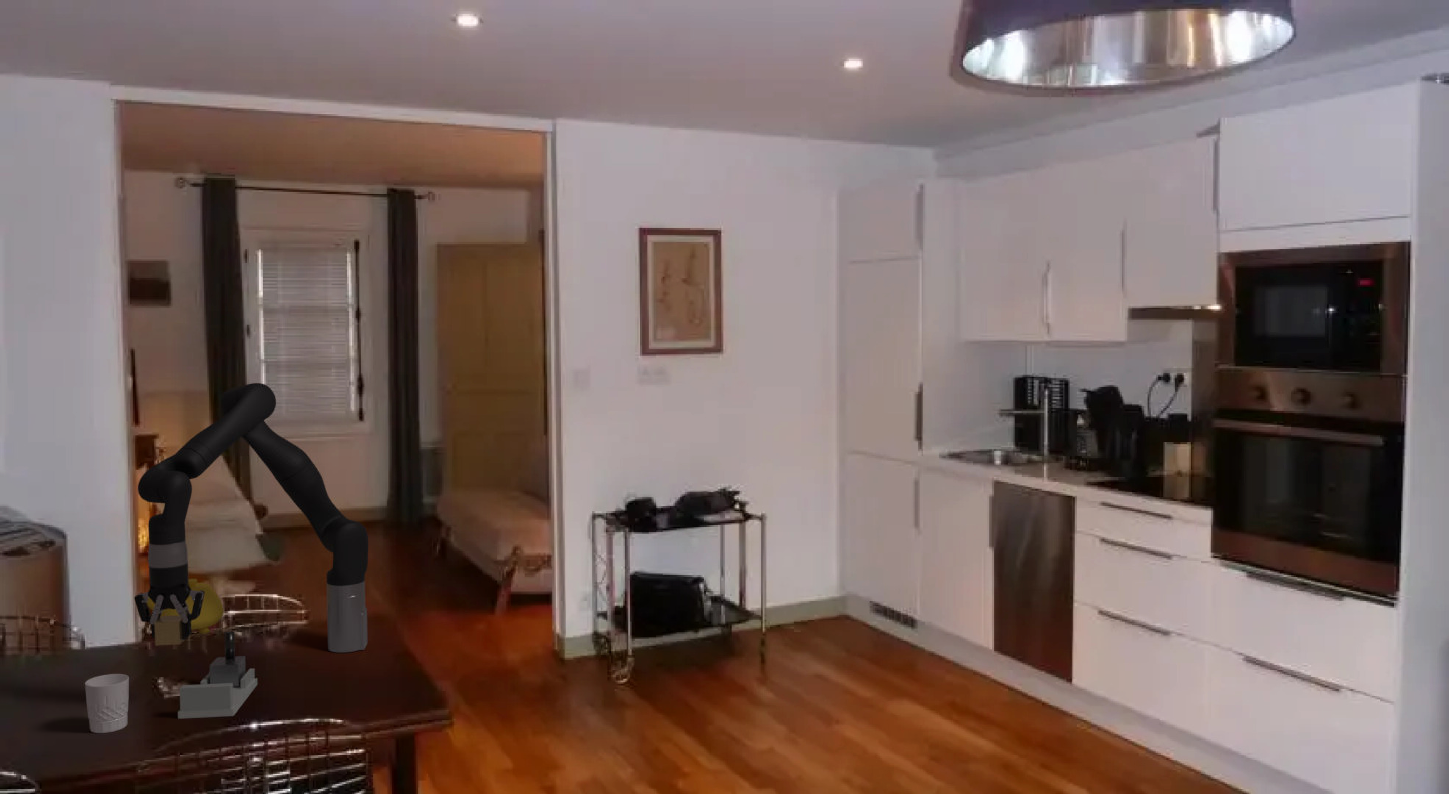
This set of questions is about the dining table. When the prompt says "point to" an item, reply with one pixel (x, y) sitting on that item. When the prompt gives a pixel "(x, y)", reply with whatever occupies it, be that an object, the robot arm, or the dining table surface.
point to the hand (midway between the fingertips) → (171, 639)
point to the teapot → (209, 610)
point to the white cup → (107, 702)
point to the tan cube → (168, 630)
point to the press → (215, 697)
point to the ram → (228, 664)
